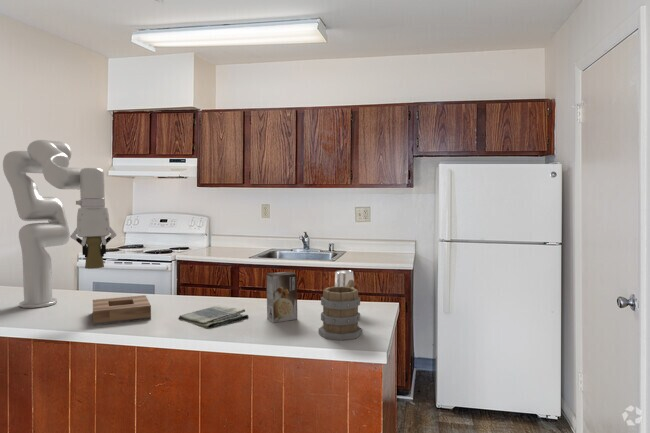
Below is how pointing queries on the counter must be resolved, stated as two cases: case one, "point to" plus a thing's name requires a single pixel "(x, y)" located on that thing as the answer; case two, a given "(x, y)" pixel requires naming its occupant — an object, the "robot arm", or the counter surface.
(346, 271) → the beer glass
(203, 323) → the dish towel
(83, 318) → the counter surface
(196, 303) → the counter surface
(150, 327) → the counter surface
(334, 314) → the tankard
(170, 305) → the counter surface
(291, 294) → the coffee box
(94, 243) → the cork
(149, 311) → the docking block
